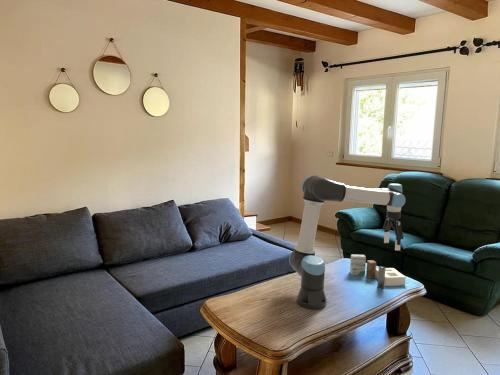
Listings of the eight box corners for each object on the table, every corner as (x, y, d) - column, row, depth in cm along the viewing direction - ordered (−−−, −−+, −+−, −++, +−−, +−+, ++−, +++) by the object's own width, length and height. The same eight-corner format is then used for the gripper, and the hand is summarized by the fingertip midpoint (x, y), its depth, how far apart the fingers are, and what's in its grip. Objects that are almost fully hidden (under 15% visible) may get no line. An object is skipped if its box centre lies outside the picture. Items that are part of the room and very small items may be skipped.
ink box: (363, 272, 230) (364, 254, 228) (365, 275, 225) (366, 257, 223) (349, 271, 231) (350, 253, 229) (350, 274, 226) (352, 256, 224)
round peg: (378, 288, 206) (380, 268, 204) (376, 286, 210) (377, 266, 208) (384, 288, 206) (386, 268, 205) (381, 286, 210) (383, 266, 208)
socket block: (385, 285, 210) (386, 277, 210) (374, 276, 224) (375, 268, 223) (404, 285, 212) (405, 276, 211) (392, 275, 226) (393, 267, 225)
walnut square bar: (368, 278, 221) (370, 262, 219) (366, 275, 225) (367, 260, 223) (375, 278, 221) (376, 262, 220) (372, 275, 225) (373, 260, 223)
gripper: (411, 215, 196) (409, 253, 199) (390, 205, 220) (388, 239, 224) (398, 216, 195) (396, 253, 199) (378, 206, 220) (376, 239, 223)
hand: (391, 246), depth 211 cm, fingers open, 13 cm apart
